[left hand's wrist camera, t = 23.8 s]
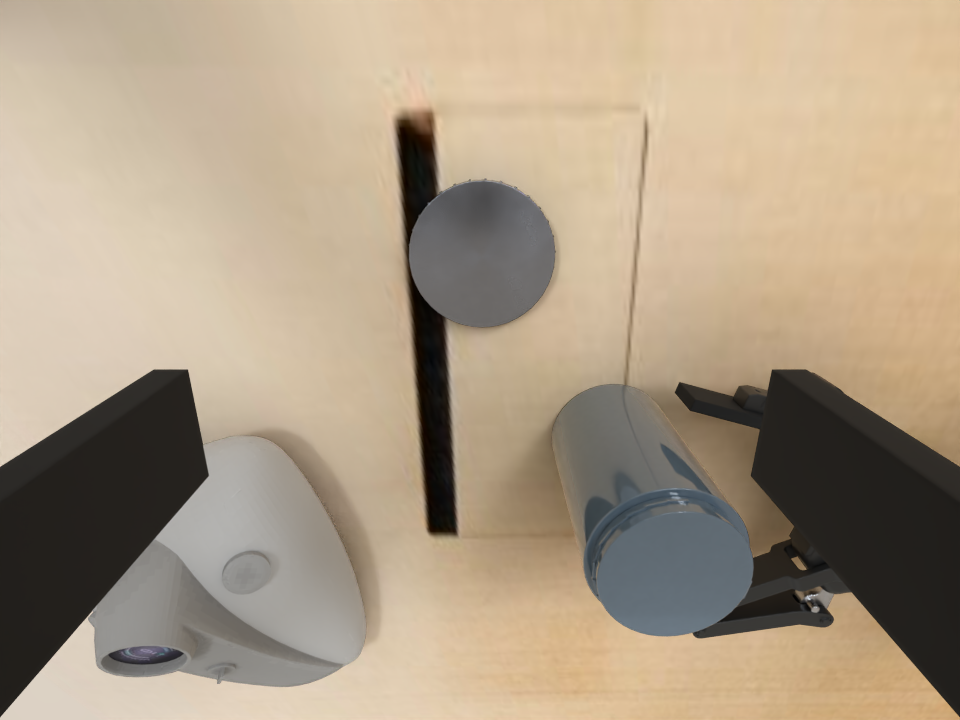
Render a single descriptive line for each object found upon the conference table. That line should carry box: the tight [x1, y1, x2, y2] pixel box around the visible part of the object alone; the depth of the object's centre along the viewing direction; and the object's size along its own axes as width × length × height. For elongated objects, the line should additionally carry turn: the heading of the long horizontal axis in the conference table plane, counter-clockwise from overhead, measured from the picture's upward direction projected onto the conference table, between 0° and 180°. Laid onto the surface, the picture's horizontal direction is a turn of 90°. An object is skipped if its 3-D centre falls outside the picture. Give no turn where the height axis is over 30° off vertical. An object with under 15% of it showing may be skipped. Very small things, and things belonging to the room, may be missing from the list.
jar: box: [552, 384, 754, 636], centre depth 35 cm, size 9×9×15 cm
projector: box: [88, 436, 366, 687], centre depth 38 cm, size 22×23×15 cm
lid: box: [409, 178, 555, 327], centre depth 36 cm, size 10×10×2 cm
